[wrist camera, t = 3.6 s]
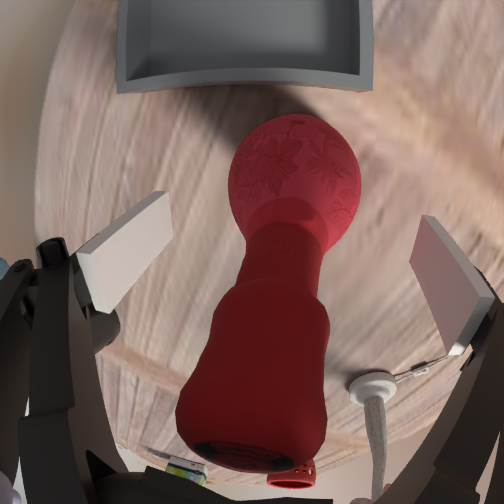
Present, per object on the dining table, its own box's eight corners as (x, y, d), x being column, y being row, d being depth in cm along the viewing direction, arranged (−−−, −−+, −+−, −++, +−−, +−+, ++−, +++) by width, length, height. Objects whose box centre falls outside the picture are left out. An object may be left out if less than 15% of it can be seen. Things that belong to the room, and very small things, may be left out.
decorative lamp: (443, 314, 37) (493, 568, 3) (453, 384, 44) (475, 554, 10) (290, 370, 48) (248, 592, 14) (336, 422, 56) (320, 580, 22)
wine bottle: (248, 186, 33) (93, 448, 7) (263, 103, 28) (-38, 178, 2) (330, 206, 32) (352, 509, 7) (353, 124, 27) (590, 332, 2)
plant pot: (265, 450, 70) (258, 484, 60) (286, 438, 63) (280, 477, 53) (302, 459, 71) (298, 492, 61) (327, 447, 64) (324, 484, 54)
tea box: (205, 464, 89) (196, 495, 77) (208, 470, 94) (200, 499, 82) (170, 455, 91) (159, 483, 79) (175, 461, 96) (165, 489, 84)
